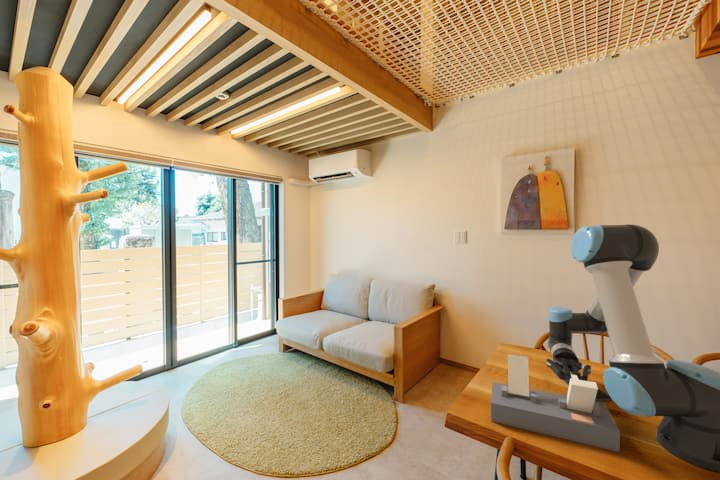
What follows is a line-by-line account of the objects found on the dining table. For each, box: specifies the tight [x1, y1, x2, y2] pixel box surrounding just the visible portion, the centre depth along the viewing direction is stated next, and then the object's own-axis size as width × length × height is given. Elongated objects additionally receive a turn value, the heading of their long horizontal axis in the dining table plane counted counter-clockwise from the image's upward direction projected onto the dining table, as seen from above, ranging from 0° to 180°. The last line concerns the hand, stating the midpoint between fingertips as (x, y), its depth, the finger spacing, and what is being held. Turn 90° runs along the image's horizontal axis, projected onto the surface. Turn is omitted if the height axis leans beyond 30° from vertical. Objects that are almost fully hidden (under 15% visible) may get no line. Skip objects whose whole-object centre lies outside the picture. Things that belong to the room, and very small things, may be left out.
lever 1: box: [507, 353, 530, 397], centre depth 99 cm, size 2×6×12 cm, turn 65°
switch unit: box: [490, 381, 621, 453], centre depth 94 cm, size 14×32×8 cm, turn 64°
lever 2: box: [566, 378, 599, 413], centre depth 87 cm, size 2×6×12 cm
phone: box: [562, 379, 613, 402], centre depth 111 cm, size 8×1×15 cm
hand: (578, 389), depth 88 cm, fingers closed
